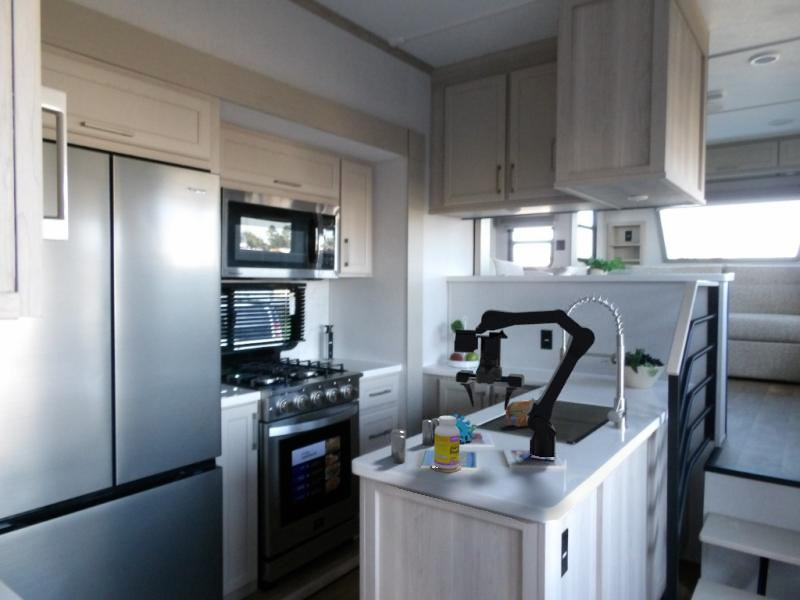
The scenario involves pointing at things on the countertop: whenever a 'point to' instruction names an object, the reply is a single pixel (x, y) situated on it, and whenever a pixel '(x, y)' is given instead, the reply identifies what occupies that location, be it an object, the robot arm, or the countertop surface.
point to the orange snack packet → (517, 413)
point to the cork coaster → (447, 469)
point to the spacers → (400, 439)
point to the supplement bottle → (446, 443)
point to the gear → (464, 428)
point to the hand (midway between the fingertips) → (489, 408)
